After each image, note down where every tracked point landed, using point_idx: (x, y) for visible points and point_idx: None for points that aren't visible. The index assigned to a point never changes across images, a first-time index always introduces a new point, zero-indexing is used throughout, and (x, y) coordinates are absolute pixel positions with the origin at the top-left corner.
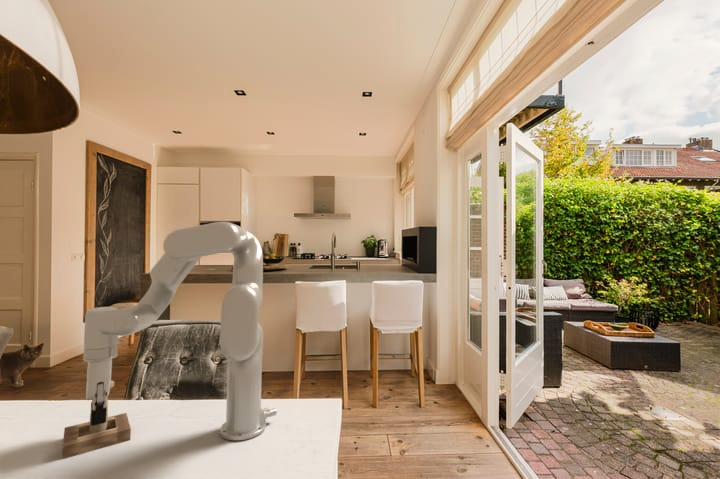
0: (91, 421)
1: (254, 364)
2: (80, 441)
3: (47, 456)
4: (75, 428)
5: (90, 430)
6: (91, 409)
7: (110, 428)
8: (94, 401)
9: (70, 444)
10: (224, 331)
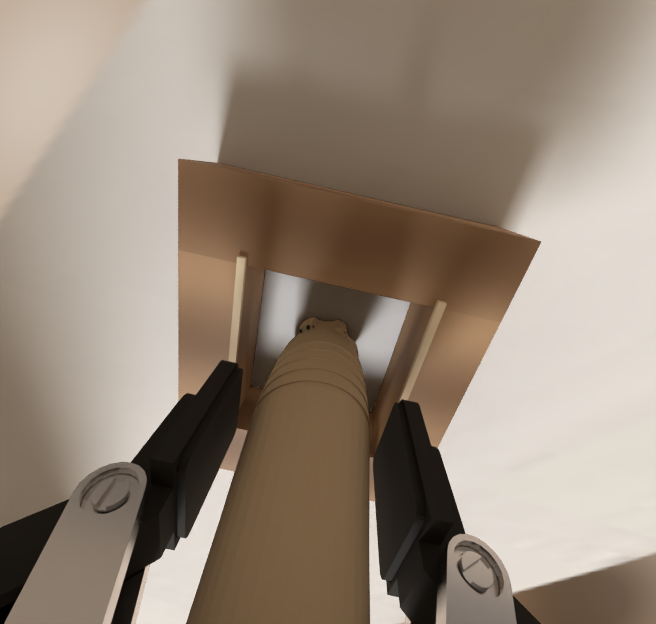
0: (207, 379)
1: None
2: (185, 262)
3: (323, 102)
4: (443, 290)
5: (309, 341)
6: (289, 461)
7: (375, 408)
8: (12, 621)
9: (178, 206)
10: None
